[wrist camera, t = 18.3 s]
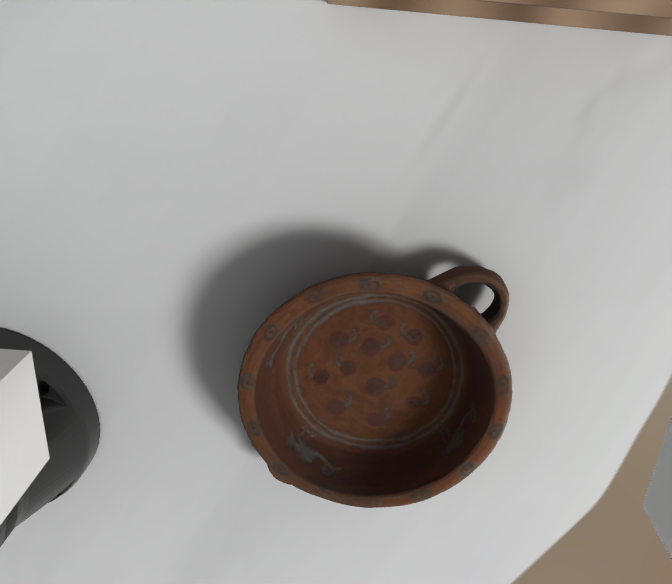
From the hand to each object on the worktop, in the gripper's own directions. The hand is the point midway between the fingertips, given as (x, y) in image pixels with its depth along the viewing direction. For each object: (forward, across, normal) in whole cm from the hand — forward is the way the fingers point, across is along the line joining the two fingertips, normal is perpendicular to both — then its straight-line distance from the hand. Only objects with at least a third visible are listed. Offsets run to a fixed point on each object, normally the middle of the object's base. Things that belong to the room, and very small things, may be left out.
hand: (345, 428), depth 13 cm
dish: (+28, +2, -15) cm, 32 cm away
